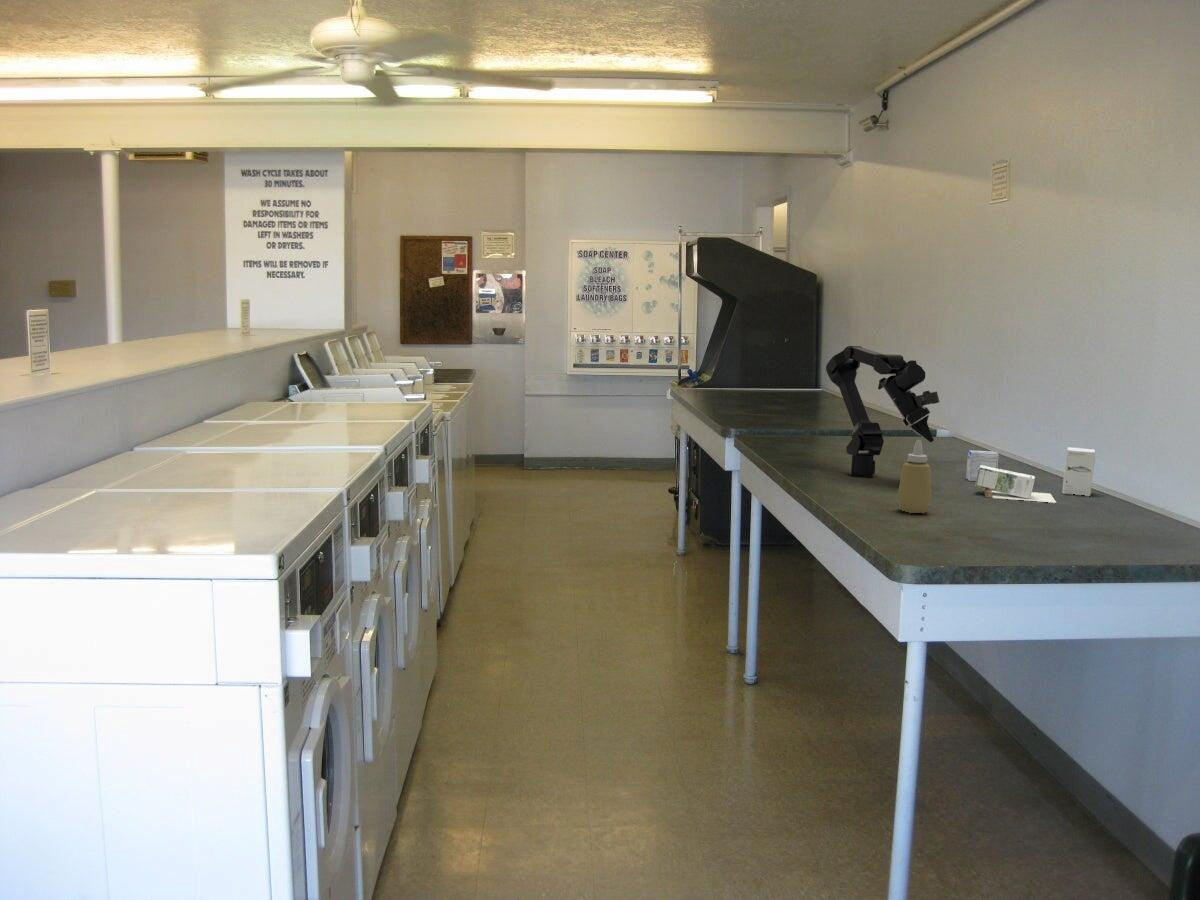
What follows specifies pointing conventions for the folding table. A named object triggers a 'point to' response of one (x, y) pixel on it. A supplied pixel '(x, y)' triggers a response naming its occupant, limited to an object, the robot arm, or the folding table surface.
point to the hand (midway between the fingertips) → (932, 441)
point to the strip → (988, 493)
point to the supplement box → (1078, 471)
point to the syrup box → (1005, 481)
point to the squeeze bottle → (915, 482)
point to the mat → (1034, 497)
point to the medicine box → (979, 462)
